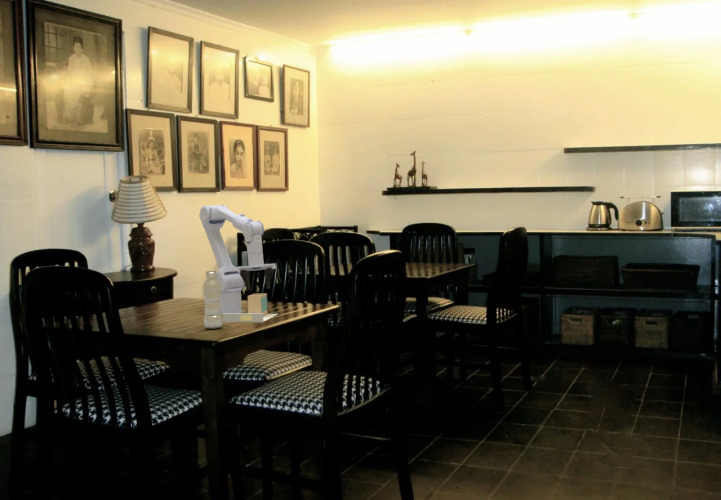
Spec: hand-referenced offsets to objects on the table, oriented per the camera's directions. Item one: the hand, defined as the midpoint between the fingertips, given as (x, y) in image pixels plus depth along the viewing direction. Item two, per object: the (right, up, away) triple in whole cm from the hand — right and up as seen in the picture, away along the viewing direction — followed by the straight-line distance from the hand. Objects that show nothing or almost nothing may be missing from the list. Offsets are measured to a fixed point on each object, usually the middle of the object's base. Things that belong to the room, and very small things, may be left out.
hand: (258, 289), depth 276 cm
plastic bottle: (-13, -13, -20) cm, 27 cm away
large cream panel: (-2, -11, -3) cm, 12 cm away
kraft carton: (0, -10, +1) cm, 10 cm away
